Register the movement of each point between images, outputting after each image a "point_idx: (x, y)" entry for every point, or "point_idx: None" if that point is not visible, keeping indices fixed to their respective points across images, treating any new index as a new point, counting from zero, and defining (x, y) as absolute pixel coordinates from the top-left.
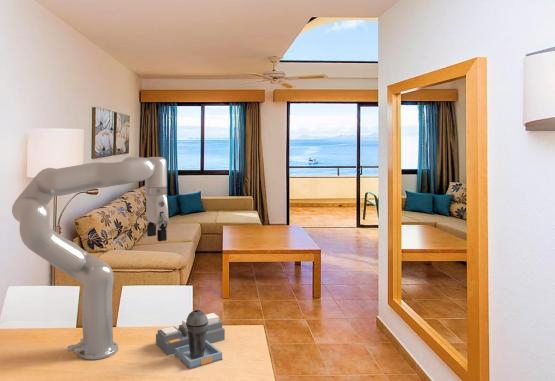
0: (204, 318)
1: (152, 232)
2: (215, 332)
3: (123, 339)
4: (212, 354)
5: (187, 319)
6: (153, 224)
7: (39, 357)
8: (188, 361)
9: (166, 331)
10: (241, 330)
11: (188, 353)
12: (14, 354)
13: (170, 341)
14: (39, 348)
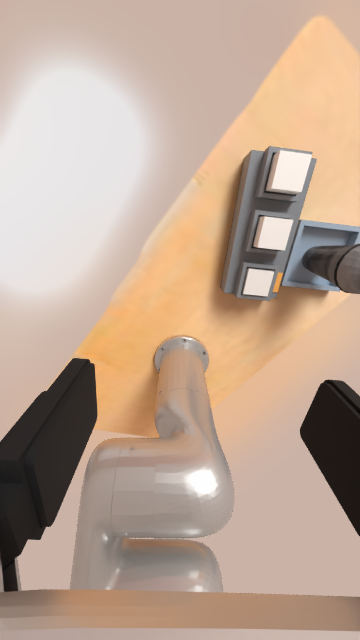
0: None
1: (83, 413)
2: (307, 187)
3: (164, 317)
4: None
5: (356, 293)
6: (13, 504)
7: (150, 410)
8: (332, 290)
9: (259, 291)
10: (299, 87)
11: (295, 265)
12: (123, 426)
13: (273, 289)
14: (122, 405)
